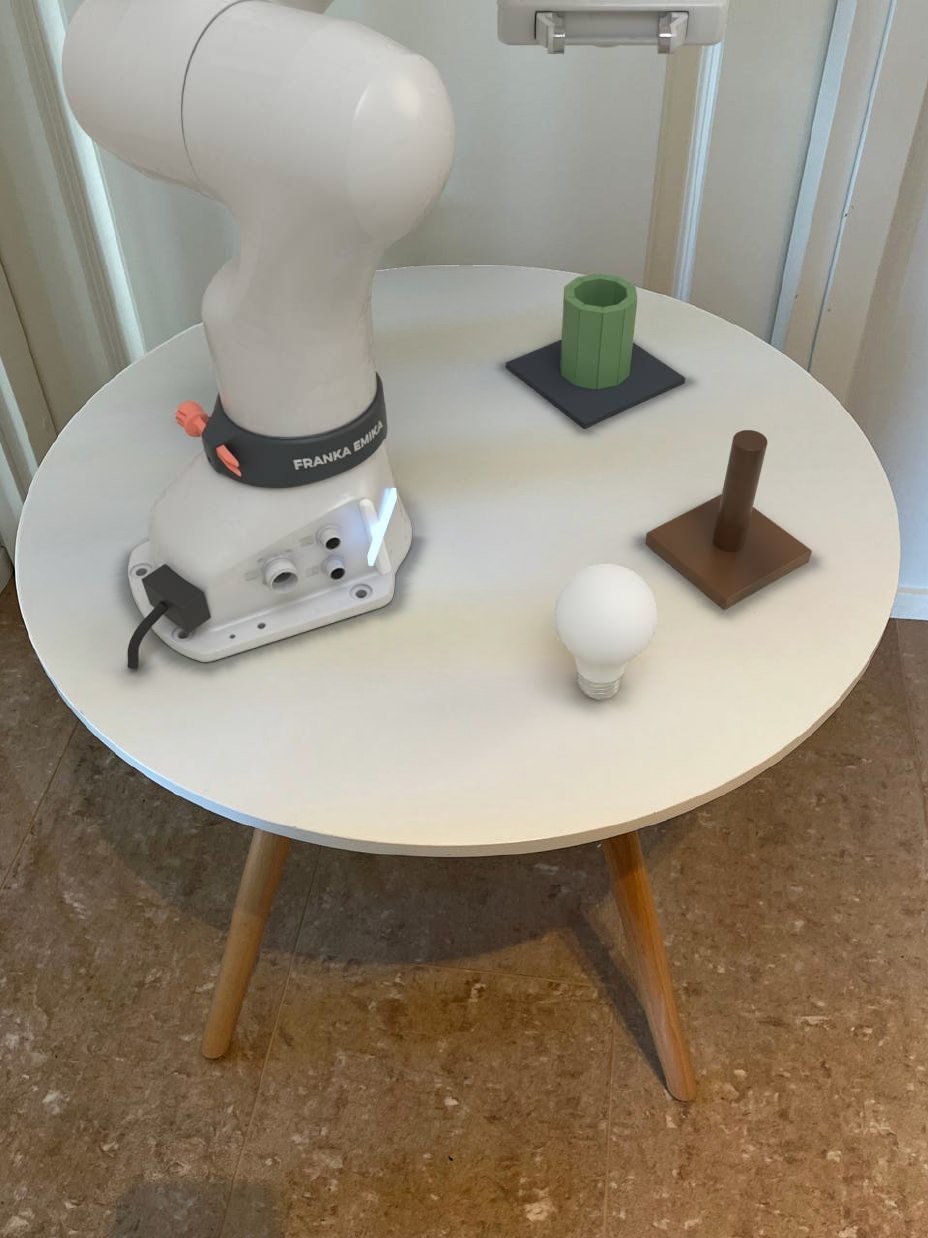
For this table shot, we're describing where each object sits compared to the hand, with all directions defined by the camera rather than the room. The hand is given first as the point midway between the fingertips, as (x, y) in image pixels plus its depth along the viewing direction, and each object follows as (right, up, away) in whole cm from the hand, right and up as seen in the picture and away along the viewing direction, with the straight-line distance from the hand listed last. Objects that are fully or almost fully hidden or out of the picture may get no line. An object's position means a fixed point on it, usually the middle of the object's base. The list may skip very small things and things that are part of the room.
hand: (611, 44), depth 90 cm
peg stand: (+8, -44, -7) cm, 45 cm away
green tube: (0, -25, +10) cm, 27 cm away
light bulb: (-3, -54, -16) cm, 56 cm away
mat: (0, -26, +10) cm, 28 cm away
